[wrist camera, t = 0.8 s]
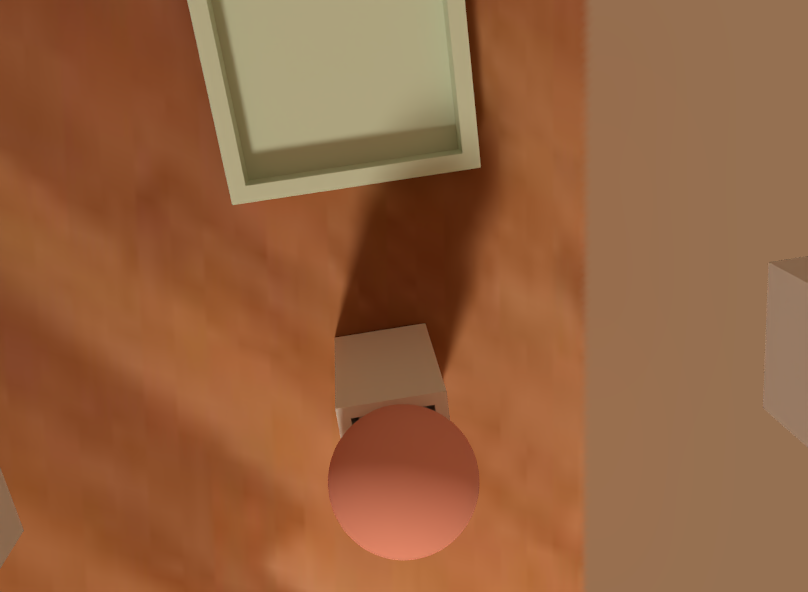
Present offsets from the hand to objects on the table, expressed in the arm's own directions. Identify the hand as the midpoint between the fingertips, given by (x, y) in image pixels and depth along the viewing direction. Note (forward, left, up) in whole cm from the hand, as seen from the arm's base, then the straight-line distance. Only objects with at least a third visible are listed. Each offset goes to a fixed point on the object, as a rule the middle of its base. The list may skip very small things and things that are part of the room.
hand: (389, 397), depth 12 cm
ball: (+12, 0, -16) cm, 20 cm away
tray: (-7, 0, -26) cm, 27 cm away
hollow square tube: (+12, 0, -26) cm, 29 cm away
